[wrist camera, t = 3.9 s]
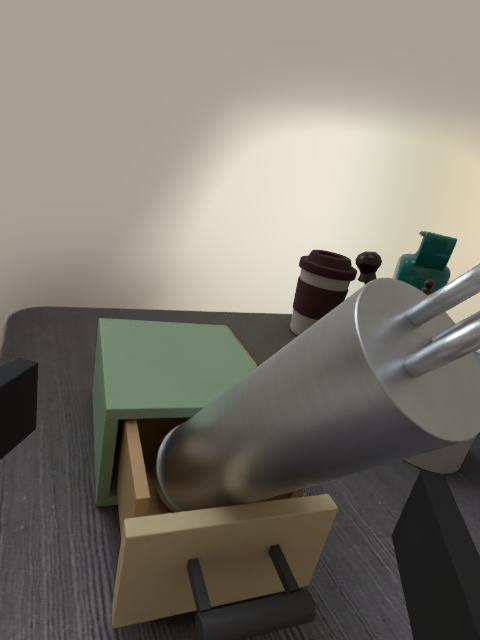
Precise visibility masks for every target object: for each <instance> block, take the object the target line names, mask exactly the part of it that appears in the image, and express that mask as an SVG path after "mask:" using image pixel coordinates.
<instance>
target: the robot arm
mask: <svg viewBox="0 0 480 640" xmlns="http://www.w3.org/2000/svg"><path fill="white" fill-rule="evenodd" d="M37 381H38V363H36V362H33V361H29V360H26V359H22V358H19V357H18V358H16V359H14V360H12V361H11V362H9V363H7V364H6V365H4V366H2V367H0V459H2V458H3V457H4V456H5V455H6V454H7V453H9V452H10V451H11V450H12V449H13V448H14V447H15V446H17V445H18V444H19V443H20V442H21V441H22V440H24V439H25V438H26V437H27V436H28V435H29V434H30V433H32V432H33V431H34V430H35V429H36V411H37ZM392 540H393V545H394V549H395V554H396V559H397V563H398V568H399V573H400V578H401V582H402V587H403V592H404V596H405V601H406V606H407V611H408V615H409V620H410V625H411V629H412V634H413V639H414V640H480V557H479V554H478V552H477V550H476V547H475V545H474V543H473V540H472V538H471V536H470V534H469V531H468V529H467V527H466V524H465V522H464V520H463V518H462V515H461V513H460V511H459V508H458V506H457V504H456V502H455V499H454V497H453V495H452V492H451V490H450V488H449V486H448V483H447V481H446V479H445V478H444V477H440V476H437V475H433V474H430V473H426V472H422V471H420V473H419V475H418V477H417V480H416V482H415V484H414V486H413V489H412V491H411V493H410V495H409V498H408V500H407V502H406V504H405V507H404V509H403V511H402V513H401V516H400V518H399V520H398V522H397V525H396V527H395V529H394V531H393V534H392Z"/></svg>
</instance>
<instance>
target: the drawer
mask: <svg viewBox="0 0 480 640" xmlns="http://www.w3.org/2000/svg"><path fill="white" fill-rule="evenodd" d="M190 418H191V417H179V418H148V419H118V428H117V437H116V445H115V453H114V465H115V476H116V488H117V499H118V510H119V521H120V532H121V545H120V553H119V560H118V567H117V574H116V581H115V589H114V596H113V603H112V621H113V628H119V627H123V626H128V625H132V624H137V623H141V622H146V621H150V620H155V619H159V618H164V617H169V616H173V615H178V614H182V613H187V612H191V611H196V610H197V615H196V619H195V632H196V639H197V640H243V639H247V638H250V637H254V636H258V635H262V634H266V633H270V632H273V631H277V630H281V629H285V628H289V627H293V626H297V625H300V624H304V623H308V622H312V621H313V620H314V618H315V605H314V601H313V599H312V596H311V594H310V593H309V592H308V591H307V590H300V587H305V586H308V585H309V584H310V581H311V578H312V576H313V573H314V571H315V568H316V565H317V563H318V560H319V557H320V555H321V552H322V549H323V547H324V544H325V541H326V539H327V536H328V534H329V531H330V528H331V526H332V523H333V520H334V518H335V515H336V512H337V510H338V507H337V506H336V504H335V503H334V501H333V500H332V498H331V497H330V495H329V494H323V495H315V496H307V497H301V494H302V491H303V488H302V489H299V490H295V491H292V492H288V493H285V494H281V495H278V496H274V497H271V498H267V499H264V500H260V501H257V502H253V503H250V504H242V505H233V506H225V507H217V508H209V509H201V510H193V511H185V512H176V513H174V512H172V511H171V510H170V509H169V508H168V507H167V506H166V505H165V504H164V503H163V501H162V500H161V498H160V497H159V495H158V493H157V490H156V488H155V485H154V481H153V474H152V464H153V458H154V454H155V451H156V448H157V446H158V444H159V442H160V441H161V439H162V438H163V437H164V436H165V435H166V434H167V433H168V432H169V431H170V430H171V429H173V428H174V427H175V426H177V425H178V424H180V423H182V422H185V421H187V420H189V419H190ZM299 590H300V591H299ZM282 591H285V592H286V594H282V595H278V596H273V597H269V598H264V599H260V600H255V601H251V602H246V603H242V604H238V605H233V606H229V607H224V608H220V609H215V610H211V609H212V608H211V607H214V606H218V605H223V604H227V603H232V602H237V601H241V600H246V599H250V598H255V597H259V596H264V595H268V594H273V593H277V592H282Z"/></svg>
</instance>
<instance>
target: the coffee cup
mask: <svg viewBox="0 0 480 640" xmlns="http://www.w3.org/2000/svg"><path fill="white" fill-rule="evenodd" d="M299 266H300V267H301V268H302V269H301V275H300V276H299V279H298V283H297V288H296V293H295V299H294V303H293V309H294V310H293V315H292V320H291V325H290V329H291V331H292V332H293V333H294V334H296V335H297V336H299V335H300V334H301V333H303V332H304V331H305V330H307V329H308V328H309V327H311V326H312V325H313V324H315V323H316V322H317V321H318V320H320V319H321V318H322V317H324V316H325V315H326V314H328V313H329V312H330V311H332V310H333V309H334V308H336V307H337V306H338V305H339V304H341V303H342V302H343V301H344V300H345V297H346V295H347V292H348V286H349V283H350V281H353V280H355V278H356V274H357V270H356V269H354V268H353V267H351V260H350V259H349V258H347V257H345V256H343V255H340V254H336V253H332V252H328V251H323V250H313V251H312V252H311V253H310V254H309V256H302V257H301V259H300V263H299Z"/></svg>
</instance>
